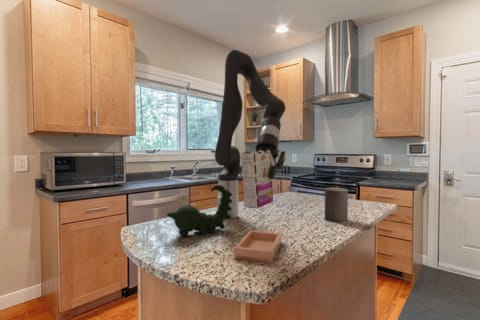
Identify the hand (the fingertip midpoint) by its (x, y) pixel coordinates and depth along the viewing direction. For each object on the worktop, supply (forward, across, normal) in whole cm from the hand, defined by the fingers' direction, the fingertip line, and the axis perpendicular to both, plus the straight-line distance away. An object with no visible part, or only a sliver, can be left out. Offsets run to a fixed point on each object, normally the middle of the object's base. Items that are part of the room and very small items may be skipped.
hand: (260, 177), depth 83 cm
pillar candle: (-14, +24, +47) cm, 54 cm away
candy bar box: (+7, 0, +5) cm, 9 cm away
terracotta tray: (+17, 0, +14) cm, 22 cm away
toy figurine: (+10, -25, +22) cm, 35 cm away
